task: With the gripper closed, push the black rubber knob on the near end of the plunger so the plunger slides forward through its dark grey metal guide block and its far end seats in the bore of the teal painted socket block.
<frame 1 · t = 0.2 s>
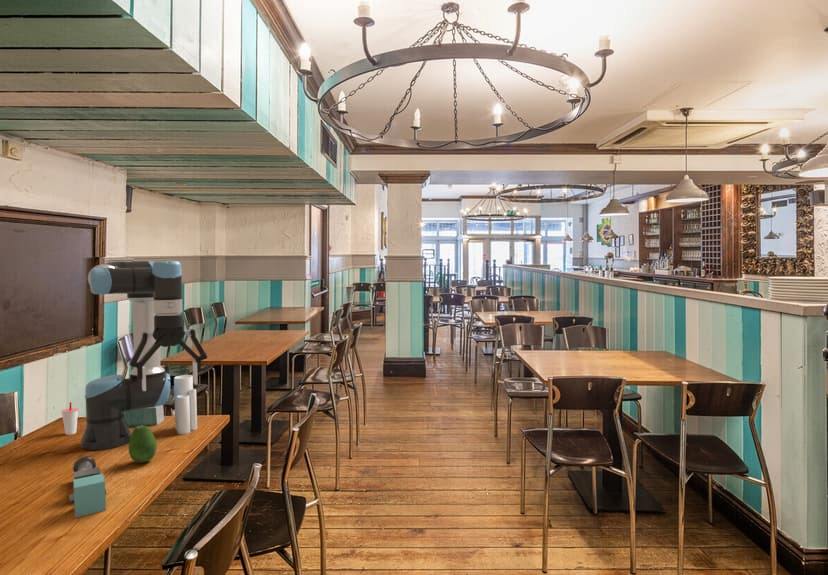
hand: (170, 386, 148), 28 cm above the table, fingers open, 13 cm apart
box: (143, 423, 204), on the table
vase: (186, 429, 196), on the table
plunger: (86, 475, 144), point 4 cm above the table, slide at 0.0 cm
socket: (90, 509, 132), on the table
fruit: (143, 462, 163), on the table
cup: (70, 434, 191), on the table
guide: (87, 495, 139), on the table
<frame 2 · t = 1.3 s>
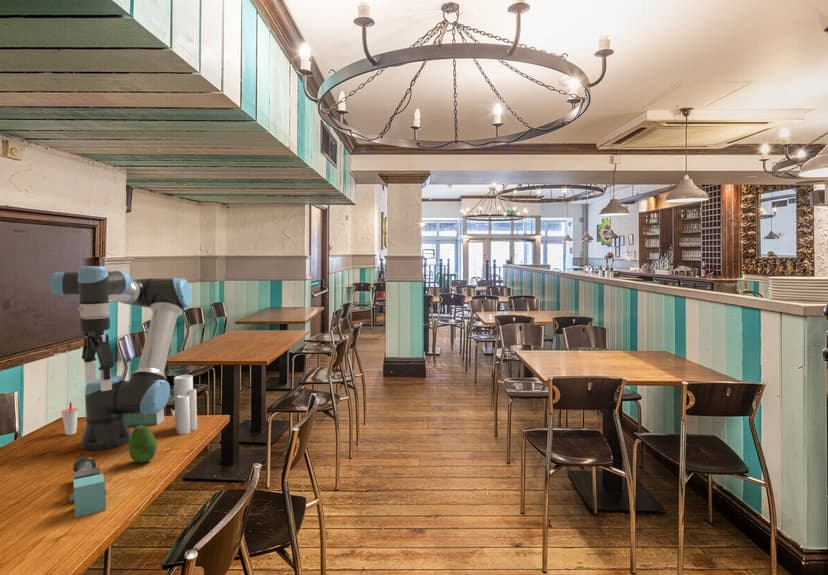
hand: (98, 386, 155), 26 cm above the table, fingers open, 13 cm apart
nothing on the table moved.
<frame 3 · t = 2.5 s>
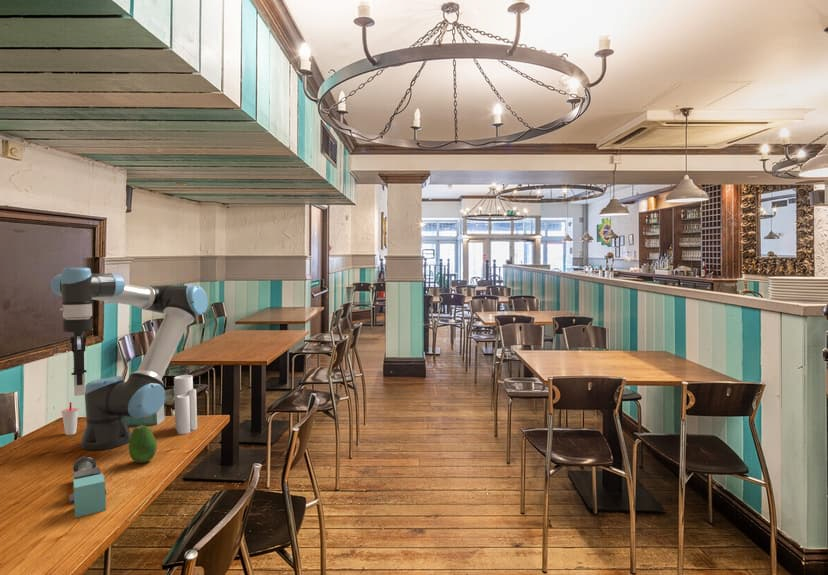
hand: (79, 394, 155), 24 cm above the table, fingers closed
nothing on the table moved.
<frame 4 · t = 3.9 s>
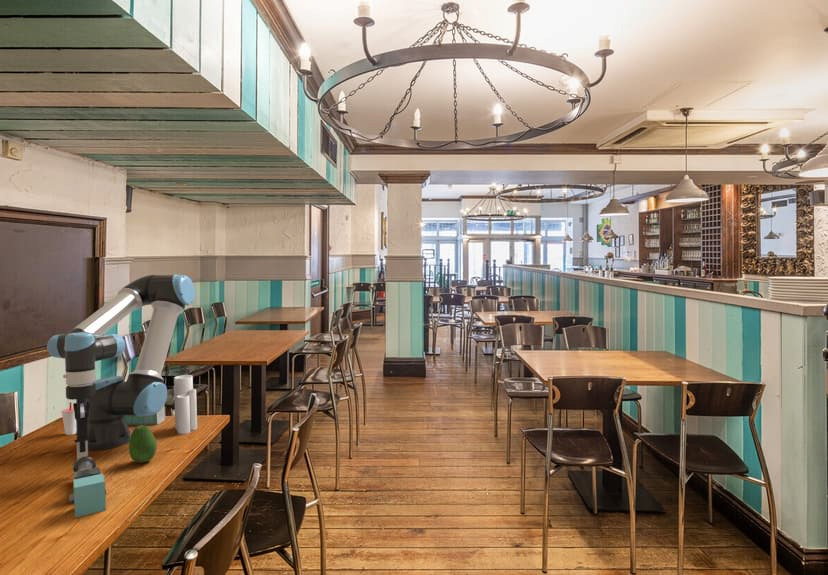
hand: (82, 461, 154), 4 cm above the table, fingers closed
nothing on the table moved.
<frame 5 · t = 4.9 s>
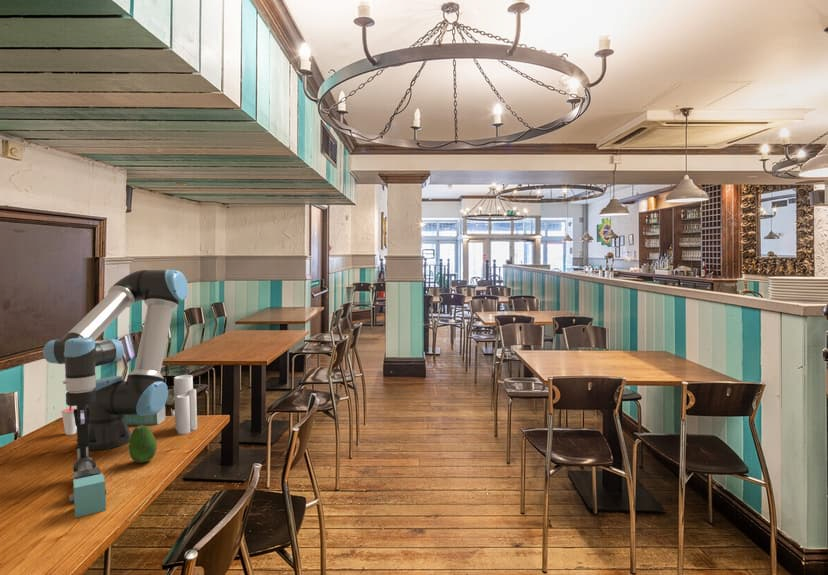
hand: (83, 468, 152), 3 cm above the table, fingers closed
plunger: (86, 475, 144), point 4 cm above the table, slide at 0.2 cm, touching gripper
everything else where it was.
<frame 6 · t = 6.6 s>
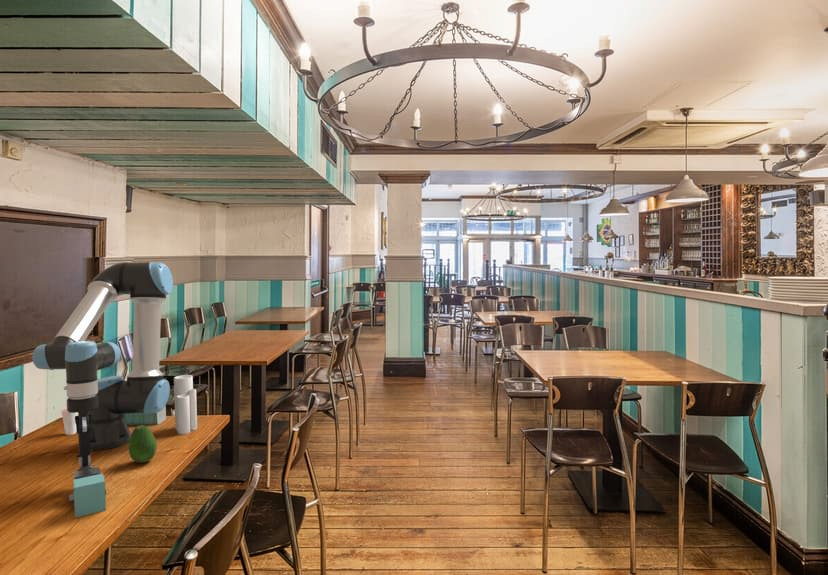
hand: (85, 477, 146), 3 cm above the table, fingers closed
plunger: (87, 485, 137), point 4 cm above the table, slide at 8.2 cm, touching gripper
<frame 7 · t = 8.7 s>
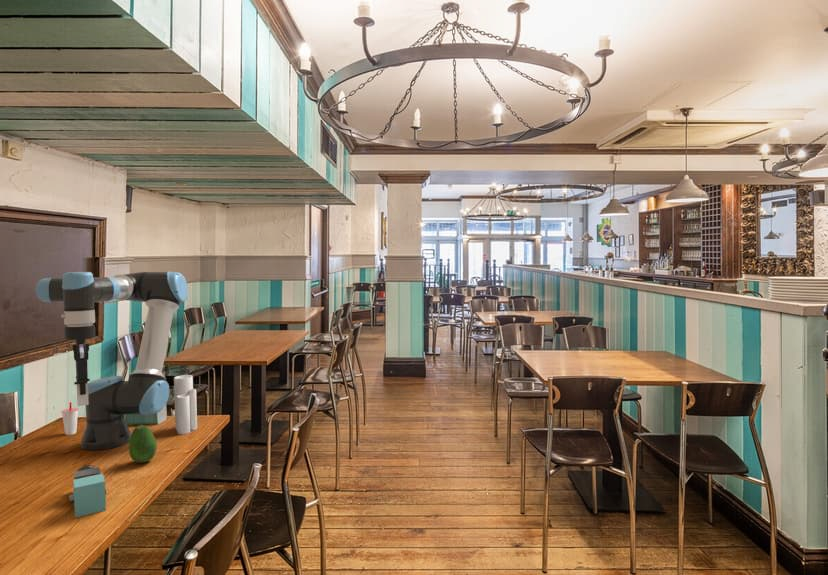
hand: (83, 404, 149), 22 cm above the table, fingers closed
plunger: (87, 485, 137), point 4 cm above the table, slide at 8.3 cm
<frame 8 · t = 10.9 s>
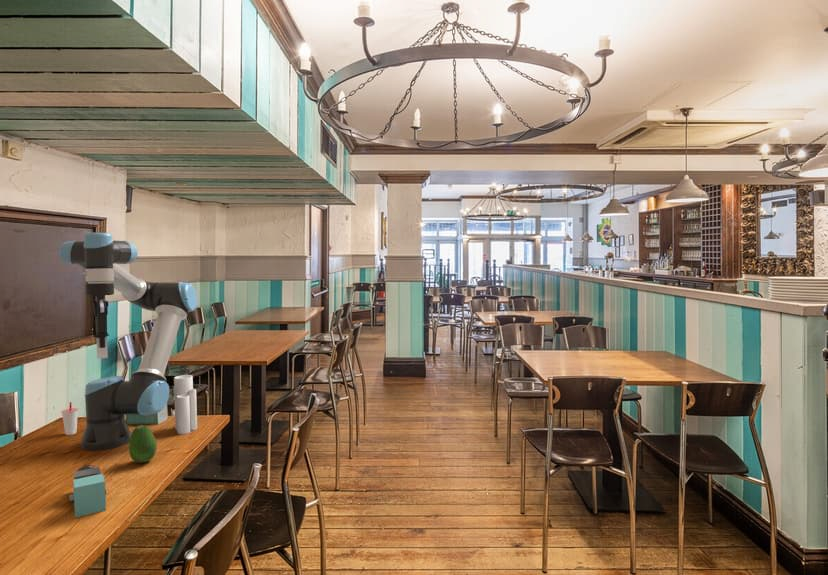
hand: (102, 357, 159), 34 cm above the table, fingers closed
at the end: plunger slide at 8.3 cm; the gripper is holding nothing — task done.
